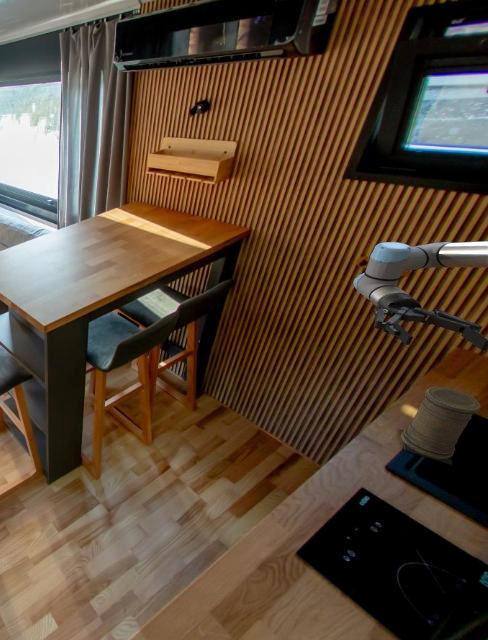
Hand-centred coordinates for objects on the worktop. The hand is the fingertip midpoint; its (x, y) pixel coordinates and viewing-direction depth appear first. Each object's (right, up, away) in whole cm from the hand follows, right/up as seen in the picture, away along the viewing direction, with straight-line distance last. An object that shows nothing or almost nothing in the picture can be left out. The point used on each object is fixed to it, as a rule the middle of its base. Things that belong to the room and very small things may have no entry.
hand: (446, 343), depth 94 cm
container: (+2, -30, +5) cm, 30 cm away
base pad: (+2, -31, +6) cm, 31 cm away
